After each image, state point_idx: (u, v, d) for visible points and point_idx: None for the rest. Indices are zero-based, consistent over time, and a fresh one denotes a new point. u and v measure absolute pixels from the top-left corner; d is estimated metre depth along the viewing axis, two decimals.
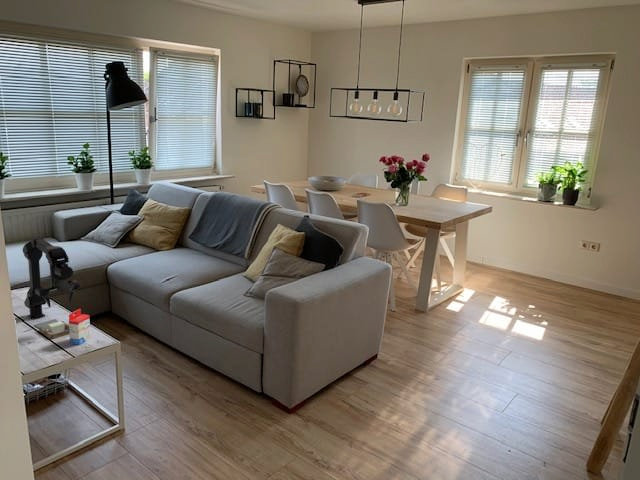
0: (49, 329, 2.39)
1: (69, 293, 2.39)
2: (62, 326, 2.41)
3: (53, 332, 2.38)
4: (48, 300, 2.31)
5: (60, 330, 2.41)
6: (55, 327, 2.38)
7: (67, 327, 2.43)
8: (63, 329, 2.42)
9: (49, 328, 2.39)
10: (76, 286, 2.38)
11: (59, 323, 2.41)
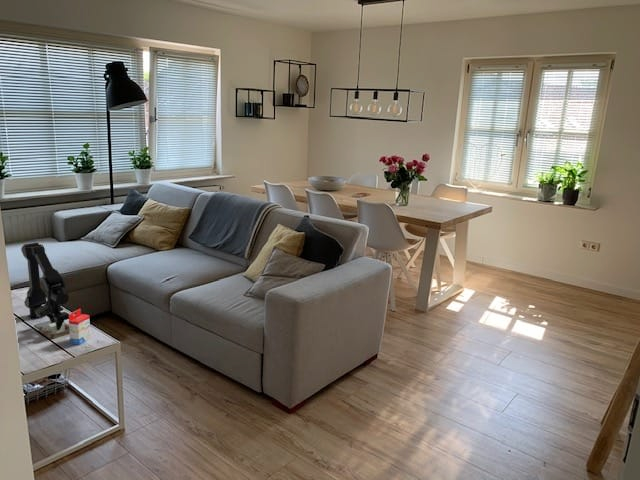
0: (49, 329, 2.39)
1: None
2: (62, 326, 2.41)
3: (53, 332, 2.38)
4: (50, 320, 2.41)
5: (60, 330, 2.41)
6: (55, 327, 2.38)
7: (67, 327, 2.43)
8: (63, 329, 2.42)
9: (49, 328, 2.39)
10: (55, 318, 2.32)
11: None
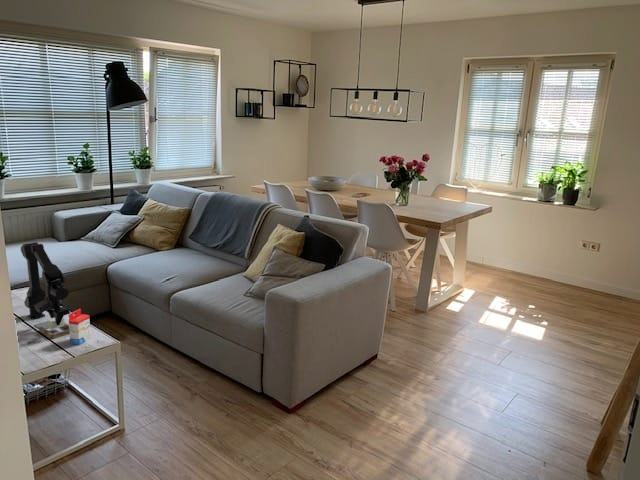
0: (49, 324, 2.38)
1: None
2: (62, 321, 2.40)
3: (53, 327, 2.37)
4: (50, 315, 2.40)
5: (60, 325, 2.40)
6: (55, 322, 2.38)
7: (67, 327, 2.43)
8: (63, 324, 2.41)
9: (49, 323, 2.38)
10: (55, 313, 2.32)
11: None
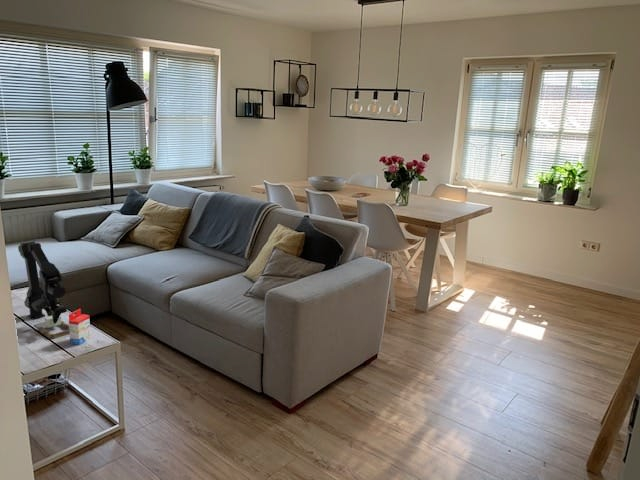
0: (46, 322, 2.40)
1: None
2: (59, 319, 2.43)
3: (50, 325, 2.40)
4: (47, 313, 2.42)
5: (57, 323, 2.42)
6: (52, 320, 2.40)
7: (67, 327, 2.43)
8: (60, 322, 2.43)
9: (46, 321, 2.40)
10: (52, 312, 2.34)
11: None
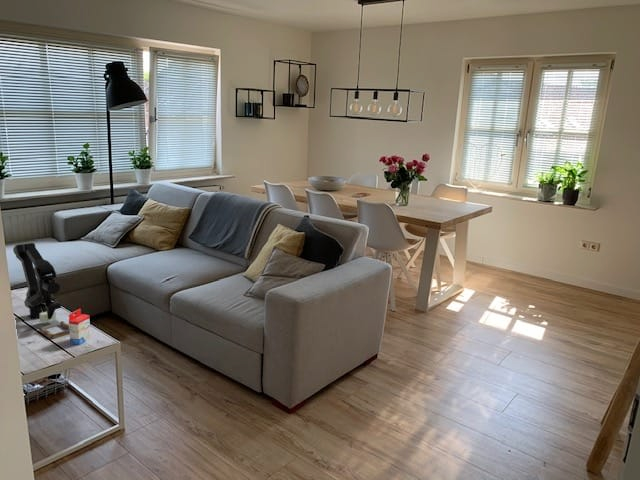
0: (41, 318, 2.44)
1: None
2: (53, 314, 2.47)
3: (44, 321, 2.44)
4: (42, 309, 2.46)
5: (51, 319, 2.46)
6: (46, 316, 2.44)
7: (67, 327, 2.43)
8: (54, 318, 2.47)
9: (41, 317, 2.44)
10: (46, 307, 2.38)
11: None
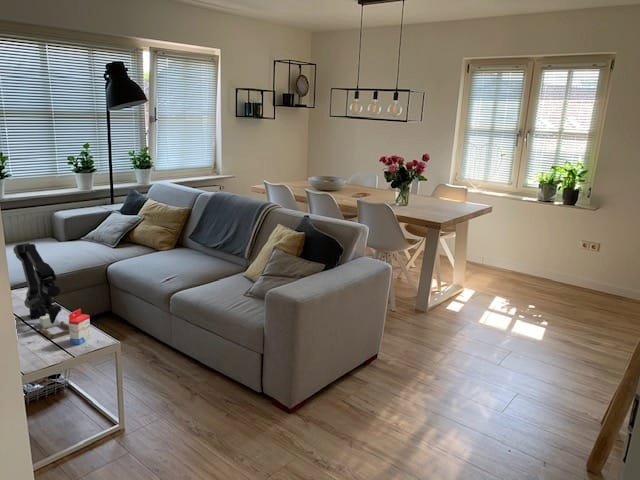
0: (41, 321, 2.45)
1: None
2: None
3: (45, 324, 2.44)
4: (40, 311, 2.48)
5: None
6: (47, 319, 2.44)
7: (67, 327, 2.43)
8: (55, 322, 2.48)
9: (41, 320, 2.45)
10: (46, 310, 2.38)
11: None
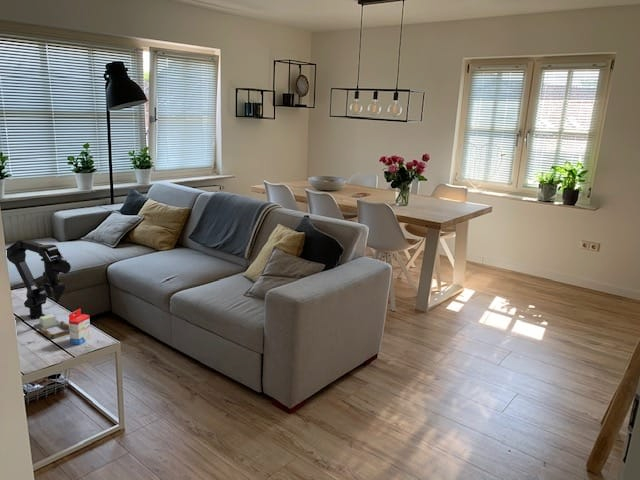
0: (41, 321, 2.45)
1: None
2: (54, 318, 2.47)
3: (45, 324, 2.44)
4: (46, 290, 2.51)
5: (52, 322, 2.47)
6: (47, 319, 2.44)
7: (67, 327, 2.43)
8: (55, 322, 2.48)
9: (41, 320, 2.45)
10: (51, 289, 2.41)
11: (51, 316, 2.47)
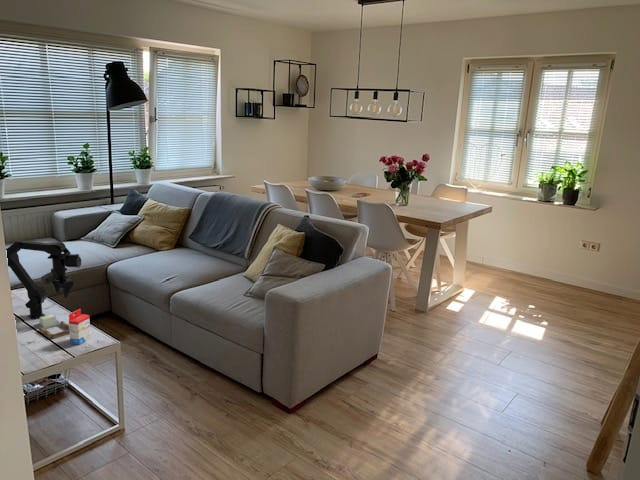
0: (41, 321, 2.45)
1: None
2: (54, 318, 2.47)
3: (45, 324, 2.44)
4: (53, 286, 2.56)
5: (52, 322, 2.47)
6: (47, 319, 2.44)
7: (67, 327, 2.43)
8: (55, 322, 2.48)
9: (41, 320, 2.45)
10: (60, 285, 2.46)
11: (51, 316, 2.47)
